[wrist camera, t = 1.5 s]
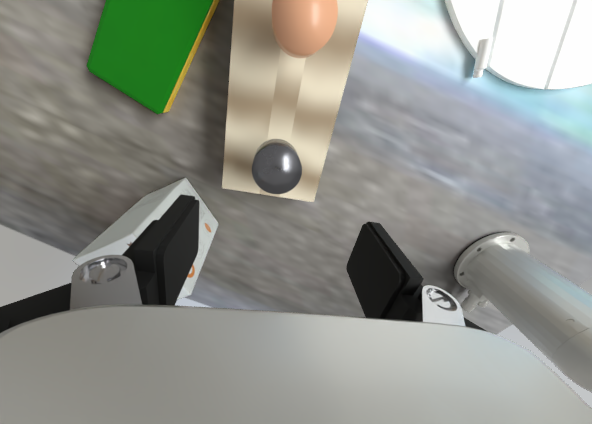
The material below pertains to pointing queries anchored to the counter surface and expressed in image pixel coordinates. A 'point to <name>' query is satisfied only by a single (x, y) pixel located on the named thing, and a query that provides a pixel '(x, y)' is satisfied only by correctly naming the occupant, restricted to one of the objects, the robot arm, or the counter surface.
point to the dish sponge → (149, 46)
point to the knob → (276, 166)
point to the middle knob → (303, 25)
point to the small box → (141, 216)
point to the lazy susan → (528, 40)
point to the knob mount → (284, 94)
